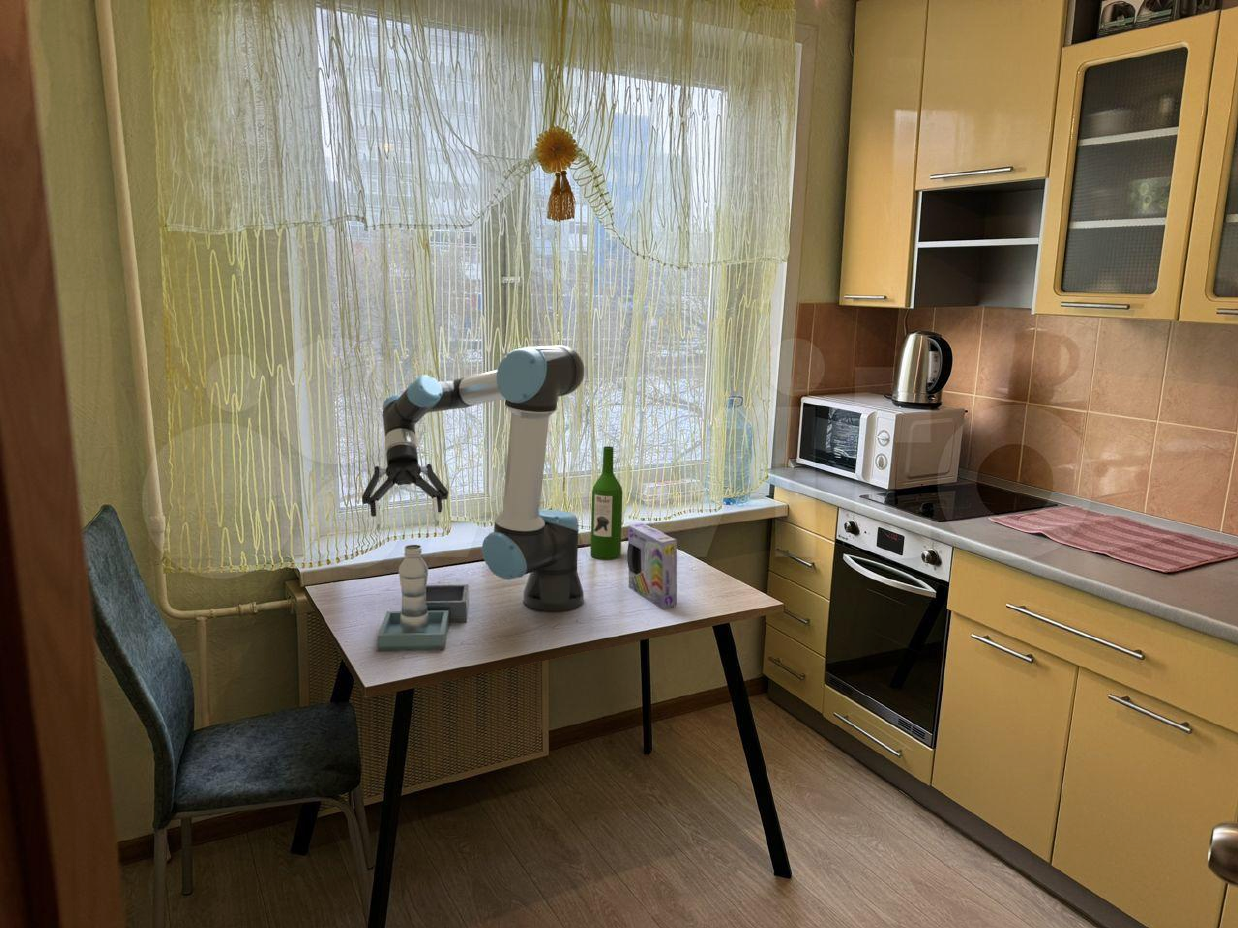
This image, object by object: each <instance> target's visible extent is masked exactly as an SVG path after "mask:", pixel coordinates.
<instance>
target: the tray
mask: <svg viewBox="0 0 1238 928" xmlns="http://www.w3.org/2000/svg"><path fill="white" fill-rule="evenodd" d="M401 611H402V610H395V611H394V610H391V611H390V610H386V612H385V614H384V617H383V620H382V622H381V625H380V628H379V630H378V634H377V651H378V652H393V651H395V652H398V651H399V650H405V651H434V650H435V651H437V650H436V649H444V650H445V647H446V643H447V642H446V641H447V636H448V630H449V626H450V623H449V610H434V611H427V612H428V615H429V628H428V629H427V631H426V632H425V633H403V631H402V630H401V627H400V616H401Z"/></svg>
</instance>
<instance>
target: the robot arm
mask: <svg viewBox="0 0 1238 928" xmlns="http://www.w3.org/2000/svg"><path fill="white" fill-rule="evenodd" d="M585 370H586V369H585V364H584V360H582V357H581V356H580V355H579V354H578V352H577V351H575V350H574V349H572V348H571V347H569V346H565V345H558V344H557V345H544V346H543V345H542V346H524V347H521V348H516V349H513V350H510V351H509V352H508V353H507V354H505V355H504V356H503V358H502V359H501V361H500V362H499V364H498V367H497V369H496V370H492V371H491V370H490V371H487V372H482V373H479V374H473V375H470V376H465V377H459V378H455V379H451V380H440V381H439V380H437V379H436V378H435V377H433V376H432V377H431V376H429V375H425V374H424V375H420V376H418V377H417V378H416V379H415V380H414V381H413V382H411V383H410V384H409V385H408V387H406V389H405V390H404V391H403V392H402V394H394V395H391V397H387V398H386V399H385V400H384V401H383V403H382V421H383V430H384V431H383V432H384V443H385V444H384V445H385V454H386V468H384V467H383V468H382V467H381V468H380V466H379V465H375V466H374V471H373V475H372V477H371V479H370V481H369V482H368V484H367V487H366V488H365V490H364V492H363V494H362V496H361V502H362V504H363V505H369V507H370V508H369V509H370V515H371V517H373V518H374V517H375V522H376V531H380V530H381V517H380V516H381V514H380V513H381V512H380V500H381V499H382V498H383V497H384V496H385V494H387V492H388V491H389V490H390V489H391V488H393V487H394V486H395V485H397V486H403V485H406V486H410V485H411V484H413V485H415V486H416V487H418V488H419V489H421V491H423V492H425V494H427V495H428V496H429V497H430V498H432V499H433V500H432V506H433V517H434V525H435V527H440V526H439V525H440V516H439V515H440V514H439V513H442V512H443V502H442V501H443V500H448V496H449V491H448V489H447V488H446V487H445V485H444V484H443V482H442V481H441V480H440V478H439V477H438V476H437V474H436V473H435V472H434V469H433V466H432V464H431V463H427V464H426V466H420V464H419V458H418V449H417V439H416V431H415V430H416V429H415V428H416V427H415V426H416V424H417V423H418V422H420V420H421V419H422V418H424V416H425V415H427V414H429V413H433V412H441V411H449V410H457V409H467V408H470V407H474V406H477V405H481V404H487V403H491V402H496V401H501V400H505V402H504V406H505V407H506V409H507V410H508V411H509V412H510V420H509V430H508V431H509V433H508V443H507V453H506V464H505V465H506V466H505V476H504V477H505V478H504V487H503V488H504V489H503V499H502V500H503V501H502V511H501V512H500V513H498V514H497V515H496V516H495V518H494V528H493V532H489V534H488V535H487V536H485V537H484V538H483V539H484V540H483V541H482V545H481V551H482V552H481V553H482V556H483V560H484V562H485V564H486V565H487V567H488V570H490V572H492V573H493V574H494V575H495V576H496V577H498V578H500V579H502V580H507V581H509V580H514V579H519V578H522V577H524V576H526V575H527V574H529V575H528V578H527V581H526V584H525V587H524V590H523V595H522V597H523V598H522V599H523V603H524V605H526V606H527V607H529V608H530V609H534V610H538V611H544V612H564V611H570V610H573V609H576V608H578V607H580V606H582V604H584V602H585V601H584V597H585V596H584V595H585V593H584V589H583V586H582V585H583V584H582V583H581V579H580V576H579V573H578V551H579V550H578V549H579V548H578V547H579V532H580V531H579V530H580V529H579V521H578V520H579V519H578V517H577V516H576V515H575V514H573V513H571V512H568V511H563V510H557V509H540V507H541V501H542V489H543V481H544V471H545V461H546V460H545V459H546V453H547V452H546V449H547V439H548V430H549V423H550V421H549V420H550V416H551V415H553V414H554V413H555V412H557V410H558V409H557V408H558V401H559V397H563V396H564V397H565V396H567V395H570V394H572V393H573V392H575V391H576V390H577V389H578V388H579V387H580V386H581V385H582V383H583V380H584V377H585ZM421 473H423V475H424V476H427V478H428V480H429V481H430V483H431V484H432V485H433V486H432V485H431V484H430V483H429V482H428V481H426V480H425V479H424V478H423V477H422V475H420V474H421ZM383 475H386V476H387V478H386V480H385V481H384V482H383V483H382V484H381V485H380V486H379V488H378V489H377V490H376V491H375V492H374V490H375V489H376V487H377V485H378V483H379V481H380V479H381V478H382V477H384V476H383Z"/></svg>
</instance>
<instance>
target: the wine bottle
mask: <svg viewBox="0 0 1238 928" xmlns="http://www.w3.org/2000/svg"><path fill="white" fill-rule="evenodd" d="M622 487H623V486H621V484H620V482H619V480H618V479H617V477H616V476H615V473H614V446H611V445H610V446H603V449H602V470H601V474H600V475H599V477H598V478H597V480H596V481H595V483H594V485H593V487H592V490H591V514H590V515H591V516H590V517H591V518H590V520H591V521H590V556H591V558H593V559H596V560H600V561H601V560H602V561H612V560H617V559H619V558H620V557H621V554H622V549H621V548H622V524H623V523H622V518H623V517H622V516H623V488H622Z"/></svg>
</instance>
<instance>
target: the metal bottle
mask: <svg viewBox="0 0 1238 928" xmlns="http://www.w3.org/2000/svg"><path fill="white" fill-rule="evenodd" d="M422 556H423V552H422V546H421V545H419V544H407V545H406V546H405V547H404V557H405V558H404V560H403V561H402V562H401V564H400V565H399V567H398V575H399V576H398V577H399V582H400V589H401V610H400V611H401V616H400V627H401V630H402V631H403V633H425V632H426V631H427V629H428V628H429V615H428V612H427V602H426V585H428V575H429V568H428V567H429V566H428V565H427V563H426V561H425V560H424V559H423V558H422Z"/></svg>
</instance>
